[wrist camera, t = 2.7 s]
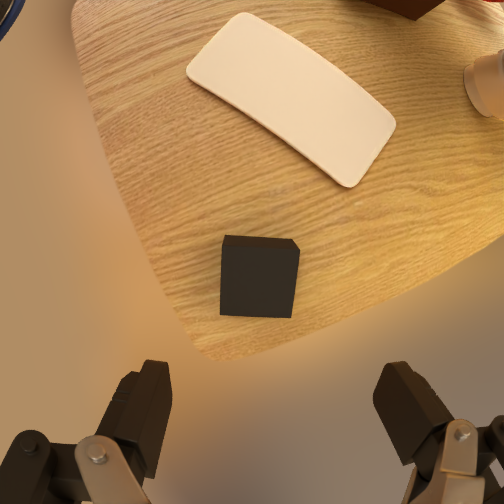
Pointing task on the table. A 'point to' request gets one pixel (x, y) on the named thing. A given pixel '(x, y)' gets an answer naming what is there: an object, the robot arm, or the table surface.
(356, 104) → the smartphone
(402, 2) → the brown square canister
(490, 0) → the apple
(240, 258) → the dark brown square block
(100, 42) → the table surface
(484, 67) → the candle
